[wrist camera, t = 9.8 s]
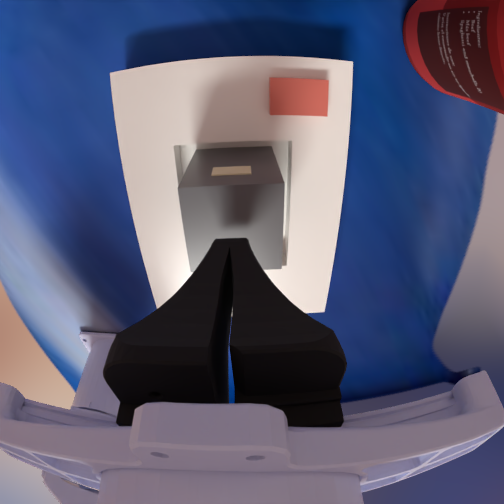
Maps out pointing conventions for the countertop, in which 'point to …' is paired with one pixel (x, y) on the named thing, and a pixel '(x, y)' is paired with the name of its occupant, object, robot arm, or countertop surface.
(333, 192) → the socket plate
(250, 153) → the plug
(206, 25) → the countertop surface
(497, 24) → the canned food
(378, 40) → the countertop surface
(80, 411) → the robot arm
